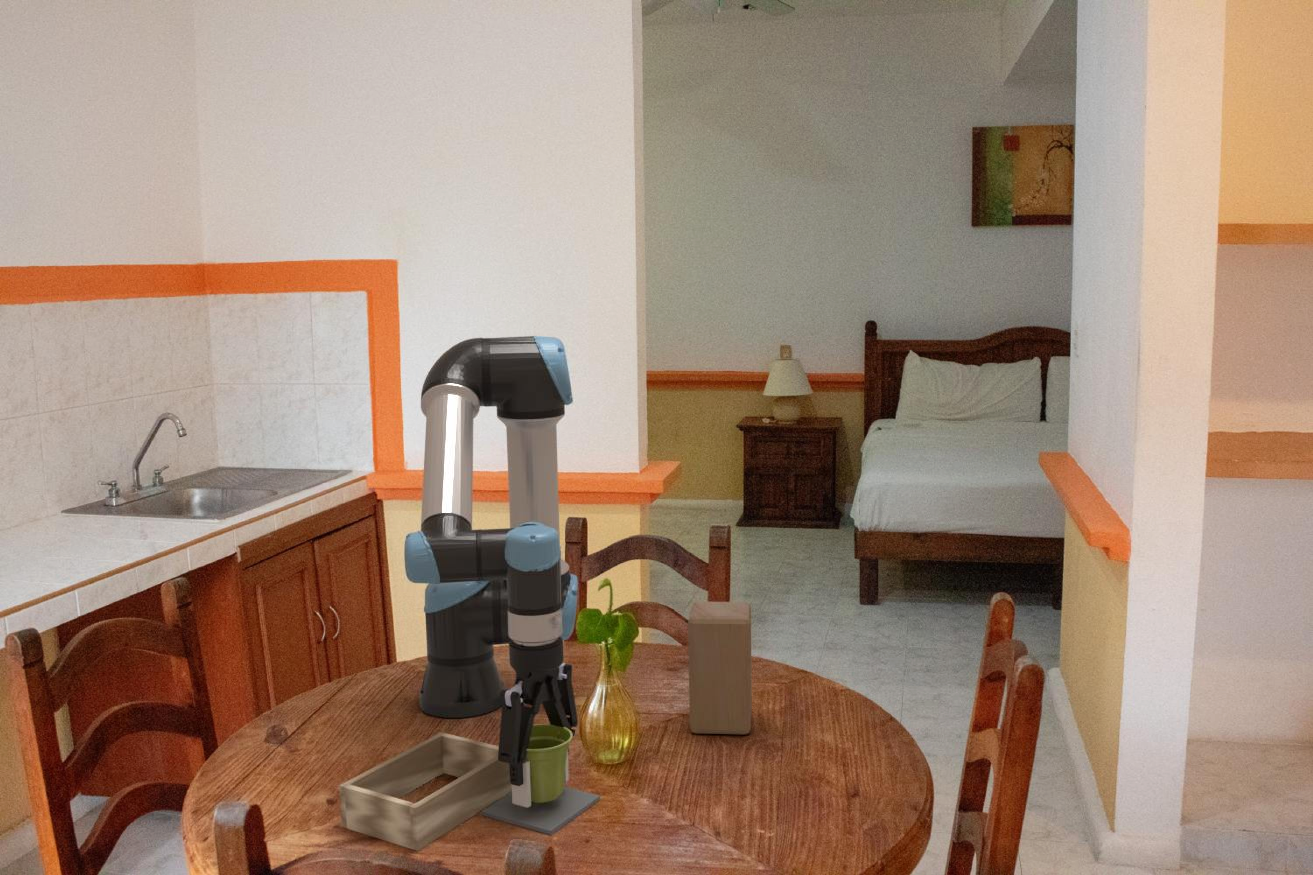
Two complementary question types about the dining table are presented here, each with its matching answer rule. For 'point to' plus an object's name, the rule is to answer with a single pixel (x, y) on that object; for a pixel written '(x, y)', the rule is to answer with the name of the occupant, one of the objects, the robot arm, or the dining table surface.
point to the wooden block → (720, 667)
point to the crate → (416, 825)
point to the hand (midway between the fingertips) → (541, 791)
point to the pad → (543, 811)
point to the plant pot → (547, 761)
